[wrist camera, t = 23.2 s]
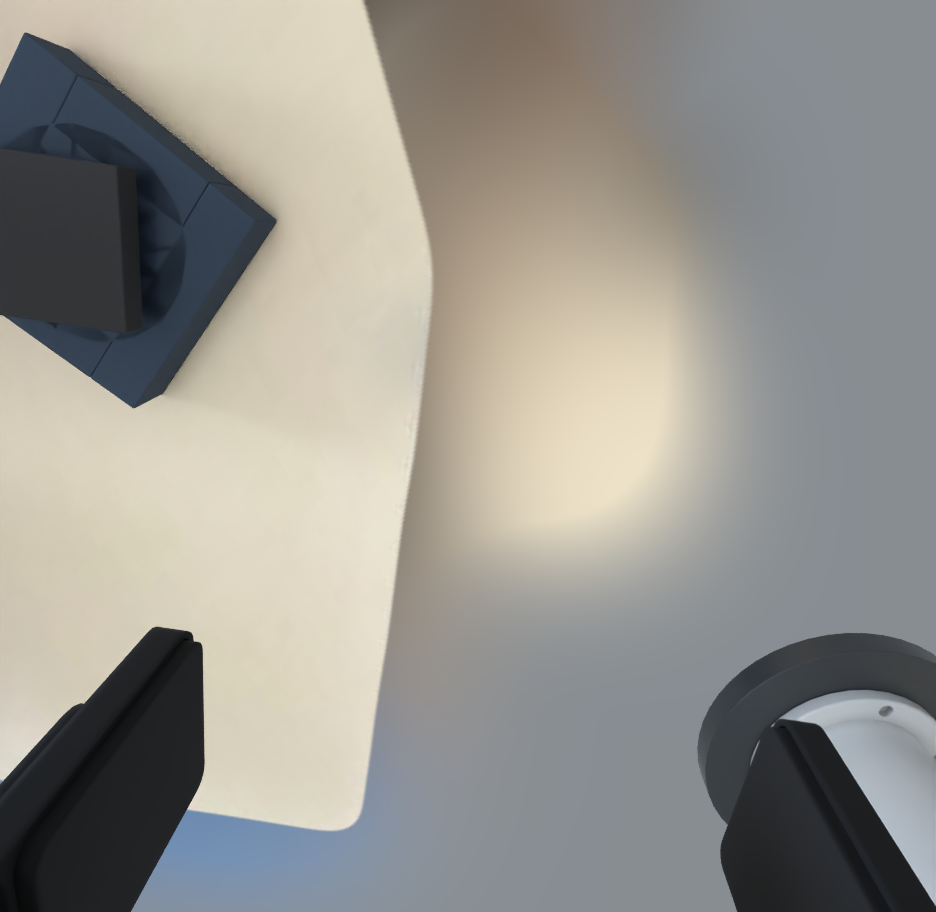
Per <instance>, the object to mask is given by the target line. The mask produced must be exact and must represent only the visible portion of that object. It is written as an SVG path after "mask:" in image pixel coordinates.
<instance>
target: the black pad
mask: <svg viewBox="0 0 936 912" xmlns="http://www.w3.org/2000/svg"><path fill="white" fill-rule="evenodd" d="M139 250H140V244H139V231H138V209H137V187H136V170H135V168H132V167H125V166H118V165H111V164H105V163H98V162H91V161H85V160H78V159H71V158H64V157H58V156H51V155H44V154H37V153H31V152H24V151H17V150H11V149H4V148H0V315H4V316H11V317H18V318H25V319H31V320H38V321H45V322H52V323H59V324H65V325H72V326H79V327H86V328H93V329H99V330H106V331H113V332H120V333H128V332H132V331H135V330H138V329H142V328H143V319H142V297H141V275H140V253H139Z"/></svg>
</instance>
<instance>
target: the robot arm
mask: <svg viewBox="0 0 936 912" xmlns="http://www.w3.org/2000/svg"><path fill="white" fill-rule="evenodd" d="M204 764H205V763H204V704H203V649H202V645H201V643H199V642H194V640H193V635H192V633H191V632H189V631H183V630H176V629H169V628H162V627H154V628H152V629H151V630H150V631H149V632H148V633H147V634H146V635H145V636H144V637H143V638H142V639H141V640H140V642H139V643H138V644H137V645H136V646H135V647H134V648H133V650H132V651H131V652H130V653H129V654H128V655H127V656H126V657H125V659H124V660H123V661H122V662H121V663H120V664H119V665H118V666H117V668H116V669H115V670H114V671H113V672H112V673H111V674H110V675H109V677H108V678H107V679H106V680H105V681H104V682H103V683H102V684H101V686H100V687H99V688H98V689H97V690H96V691H95V692H94V693H93V695H92V696H91V697H90V698H89V699H88V700H87V701H86V702H85V704H82V703H80V704H78V705H76V706H73V707H72V708H71V709H70V710H68V711H67V712H66V713H65V714H64V715H63V716H62V717H61V718H60V719H59V720H58V722H57V723H56V724H55V725H54V726H53V727H52V728H51V729H50V730H49V731H48V733H47V734H46V735H45V736H44V737H43V738H42V739H41V740H40V741H39V742H38V744H37V745H36V746H35V747H34V748H33V749H32V750H31V751H30V752H29V753H28V755H27V756H26V757H25V758H24V759H23V760H22V761H21V762H20V763H19V764H18V766H17V767H16V768H15V769H14V770H13V771H12V772H11V773H10V774H9V775H8V777H7V778H6V779H5V780H4V781H3V782H2V783H1V784H0V912H131V910H132V908H133V907H134V905H135V903H136V901H137V899H138V897H139V896H140V894H141V892H142V890H143V888H144V886H145V885H146V883H147V881H148V879H149V877H150V876H151V874H152V872H153V870H154V868H155V866H156V865H157V863H158V861H159V859H160V857H161V856H162V854H163V852H164V850H165V848H166V846H167V845H168V843H169V841H170V839H171V837H172V835H173V833H174V832H175V830H176V828H177V826H178V824H179V823H180V821H181V819H182V817H183V815H184V814H185V812H186V810H187V808H188V806H189V805H190V803H191V801H192V799H193V797H194V795H195V794H196V792H197V790H198V788H199V785H200V783H201V780H202V776H203V772H204ZM720 851H721V863H722V867H723V871H724V874H725V877H726V880H727V883H728V885H729V889H730V891H731V894H732V897H733V900H734V903H735V906H736V909H737V912H936V720H935V719H934V718H933V717H932V716H931V715H930V714H929V713H928V712H927V711H926V710H924V709H923V708H922V707H921V706H920V705H918V704H916V703H914V702H912V701H910V700H908V699H907V698H905V697H901V696H898V695H895V694H892V693H888V692H881V691H874V690H849V691H843V692H837V693H831V694H827V695H824V696H821V697H818V698H815V699H812V700H809V701H807V702H805V703H803V704H801V705H799V706H797V707H795V708H793V709H792V710H790V711H789V712H787V713H786V714H785V715H783V716H782V717H780V718H779V719H778V720H777V721H776V722H775V723H774V724H773V725H772V726H768V727H766V728H765V729H764V731H763V733H762V736H761V739H760V740H759V742H758V743H757V746H756V748H755V750H754V752H753V755H752V758H751V763H750V768H749V771H748V773H747V776H746V779H745V781H744V784H743V786H742V789H741V792H740V794H739V797H738V800H737V802H736V805H735V808H734V810H733V813H732V816H731V818H730V821H729V824H728V826H727V829H726V832H725V834H724V837H723V840H722V843H721V850H720Z"/></svg>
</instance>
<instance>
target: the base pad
mask: <svg viewBox="0 0 936 912" xmlns="http://www.w3.org/2000/svg"><path fill="white" fill-rule="evenodd" d="M0 148H4V149H11V150H17V151H24V152H31V153H37V154H44V155H51V156H58V157H64V158H71V159H78V160H85V161H91V162H98V163H105V164H111V165H118V166H125V167H132V168H135V170H136V187H137V209H138V231H139V244H140V250H139V253H140V275H141V297H142V319H143V328H142V329H138V330H135V331H132V332H128V333H120V332H113V331H106V330H99V329H93V328H86V327H79V326H72V325H65V324H59V323H52V322H45V321H38V320H31V319H25V318H18V317H11V316H5V317H6V318H8V319H9V320H10V321H12V322H13V323H15V324H16V325H17V326H19V327H20V328H22V329H23V330H24V331H26V332H27V333H29V334H30V335H31V336H33V337H34V338H36V339H37V340H38V341H40V342H41V343H42V344H44V345H45V346H47V347H48V348H49V349H51V350H52V351H54V352H55V353H56V354H58V355H59V356H61V357H62V358H63V359H65V360H66V361H68V362H69V363H70V364H72V365H73V366H75V367H76V368H77V369H79V370H80V371H82V372H83V373H84V374H86V375H87V376H89V377H91V378H92V379H93V380H94V381H96V382H97V383H99V384H100V385H101V386H103V387H104V388H106V389H107V390H108V391H110V392H111V393H113V394H114V395H115V396H117V397H118V398H120V399H121V400H122V401H124V402H125V403H127V404H128V405H129V406H131V407H132V408H136V407H138V406H140V405H142V404H144V403H145V402H147V401H149V400H151V399H153V398H155V397H157V396H159V395H161V394H163V392H164V391H165V389H166V388H167V386H168V384H169V383H170V381H171V380H172V378H173V377H174V375H175V374H176V372H177V371H178V369H179V368H180V366H181V365H182V363H183V362H184V360H185V359H186V357H187V356H188V354H189V353H190V351H191V350H192V348H193V347H194V345H195V344H196V342H197V341H198V339H199V338H200V336H201V335H202V333H203V332H204V330H205V329H206V327H207V326H208V324H209V323H210V321H211V320H212V318H213V317H214V315H215V314H216V312H217V311H218V309H219V308H220V306H221V305H222V303H223V302H224V300H225V299H226V297H227V296H228V294H229V293H230V291H231V290H232V288H233V287H234V285H235V284H236V282H237V281H238V279H239V278H240V276H241V275H242V273H243V272H244V270H245V269H246V267H247V265H248V264H249V262H250V261H251V259H252V258H253V256H254V255H255V253H256V252H257V250H258V249H259V247H260V246H261V244H262V243H263V241H264V240H265V238H266V237H267V235H268V234H269V232H270V231H271V229H272V228H273V226H274V225H275V223H276V219H274V218H273V217H272V216H271V215H270V214H268V213H267V212H266V211H265V210H263V209H262V208H261V207H260V206H259V205H257V204H256V203H255V202H254V201H253V200H251V199H250V198H249V197H248V196H246V195H245V194H244V193H243V192H242V191H240V190H239V189H238V188H237V187H235V186H234V185H233V184H232V183H231V182H230V181H228V180H227V179H226V178H225V177H223V176H222V175H221V174H220V173H219V172H217V171H216V170H215V169H214V168H212V167H211V166H210V165H209V164H208V163H206V162H205V161H204V160H203V159H202V158H200V157H199V156H198V155H197V154H195V153H194V152H193V151H192V150H191V149H189V148H188V147H187V146H186V145H185V144H183V143H182V142H181V141H180V140H178V139H177V138H176V137H175V136H174V135H172V134H171V133H170V132H169V131H168V130H166V129H165V128H164V127H163V126H161V125H160V124H159V123H158V122H157V121H155V120H154V119H153V118H152V117H150V116H149V115H148V114H147V113H146V112H144V111H143V110H142V109H141V108H140V107H138V106H137V105H136V104H135V103H133V102H132V101H131V100H130V99H129V98H127V97H126V96H125V95H124V94H123V93H121V92H120V91H119V90H118V89H115V87H114V86H113V85H111V84H110V83H109V82H108V81H107V80H105V79H104V78H103V77H102V76H101V75H99V74H98V73H97V72H96V71H94V70H93V69H92V68H91V67H90V66H88V65H87V64H86V63H85V62H84V61H82V60H81V59H80V58H79V57H77V56H76V55H75V54H74V53H73V52H71V51H70V50H69V49H66V48H64V47H61V46H59V45H56V44H54V43H51V42H49V41H46V40H44V39H41V38H39V37H36V36H34V35H31V34H29V33H24V34H23V37H22V39H21V41H20V43H19V45H18V47H17V49H16V52H15V54H14V56H13V58H12V60H11V62H10V64H9V67H8V69H7V71H6V73H5V75H4V77H3V79H2V82H1V84H0ZM3 316H4V315H3Z"/></svg>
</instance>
